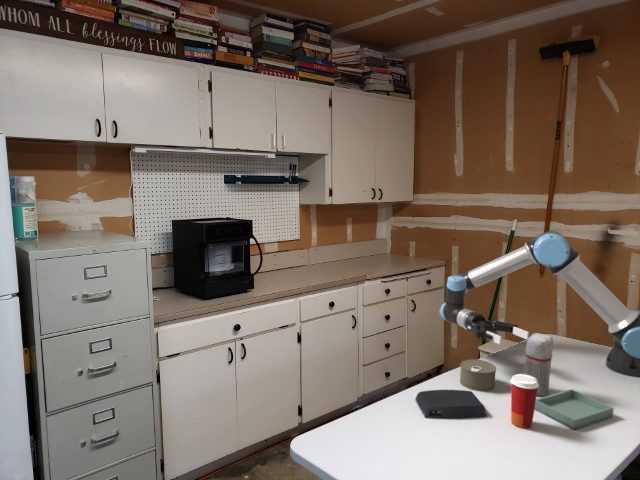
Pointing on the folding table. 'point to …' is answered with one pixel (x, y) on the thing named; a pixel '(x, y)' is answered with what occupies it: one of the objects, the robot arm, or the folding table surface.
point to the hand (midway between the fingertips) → (514, 338)
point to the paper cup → (523, 400)
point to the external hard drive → (450, 404)
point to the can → (477, 375)
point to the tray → (573, 409)
